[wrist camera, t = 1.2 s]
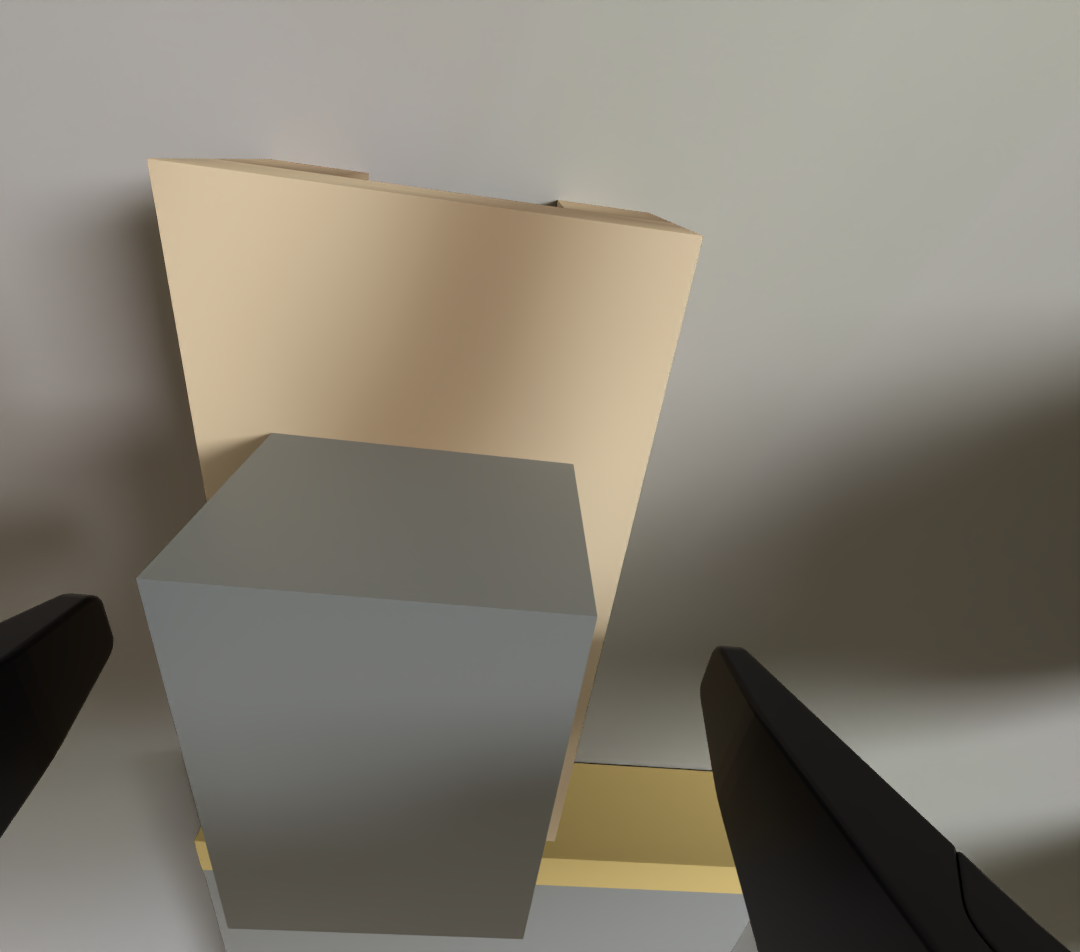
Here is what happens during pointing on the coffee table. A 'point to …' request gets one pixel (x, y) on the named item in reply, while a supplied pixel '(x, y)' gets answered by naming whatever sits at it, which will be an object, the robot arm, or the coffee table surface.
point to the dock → (590, 877)
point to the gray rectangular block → (376, 681)
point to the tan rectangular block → (426, 331)
